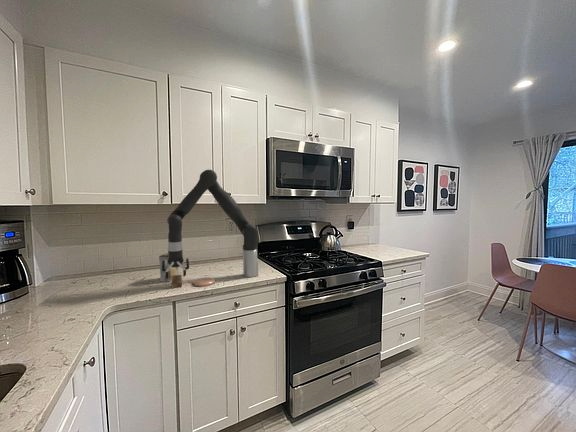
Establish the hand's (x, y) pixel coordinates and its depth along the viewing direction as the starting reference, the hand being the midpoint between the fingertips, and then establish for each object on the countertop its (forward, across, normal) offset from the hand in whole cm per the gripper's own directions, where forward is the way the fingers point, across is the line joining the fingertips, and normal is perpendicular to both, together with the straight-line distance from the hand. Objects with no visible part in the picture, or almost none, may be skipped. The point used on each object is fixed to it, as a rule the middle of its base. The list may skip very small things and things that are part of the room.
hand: (176, 277), depth 147 cm
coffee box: (+6, +5, -15) cm, 17 cm away
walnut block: (+6, 0, 0) cm, 6 cm away
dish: (+5, -15, 0) cm, 16 cm away
